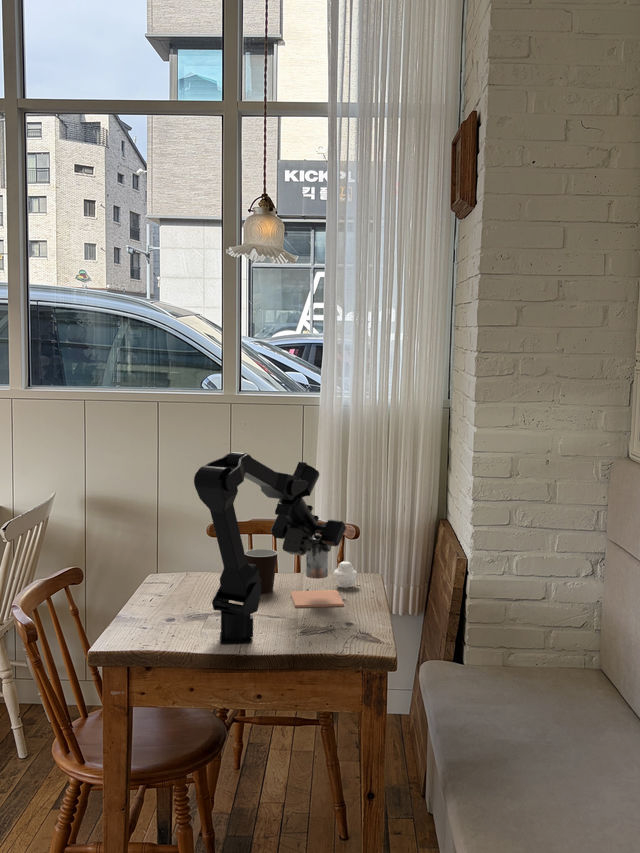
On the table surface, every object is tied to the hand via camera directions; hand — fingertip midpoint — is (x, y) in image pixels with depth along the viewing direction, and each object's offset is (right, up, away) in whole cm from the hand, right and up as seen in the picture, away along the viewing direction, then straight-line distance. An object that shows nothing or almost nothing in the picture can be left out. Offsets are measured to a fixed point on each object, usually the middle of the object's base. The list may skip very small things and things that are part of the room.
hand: (319, 548), depth 209 cm
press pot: (-1, -7, -1) cm, 7 cm away
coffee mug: (-15, -12, +9) cm, 21 cm away
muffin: (+7, -12, +12) cm, 18 cm away
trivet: (-1, -13, 0) cm, 13 cm away
